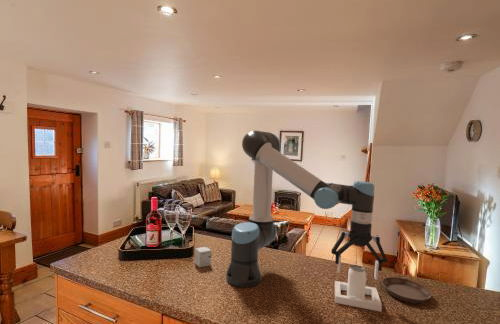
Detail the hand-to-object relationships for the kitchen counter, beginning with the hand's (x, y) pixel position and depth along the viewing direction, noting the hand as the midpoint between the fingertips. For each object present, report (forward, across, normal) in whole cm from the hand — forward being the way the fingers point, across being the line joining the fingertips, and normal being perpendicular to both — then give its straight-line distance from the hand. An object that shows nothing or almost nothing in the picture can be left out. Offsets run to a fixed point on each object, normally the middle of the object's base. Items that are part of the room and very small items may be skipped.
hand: (356, 275), depth 106 cm
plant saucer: (+9, +20, +11) cm, 25 cm away
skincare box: (+10, -69, +5) cm, 70 cm away
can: (+9, 0, 0) cm, 9 cm away
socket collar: (+9, 0, 0) cm, 9 cm away
